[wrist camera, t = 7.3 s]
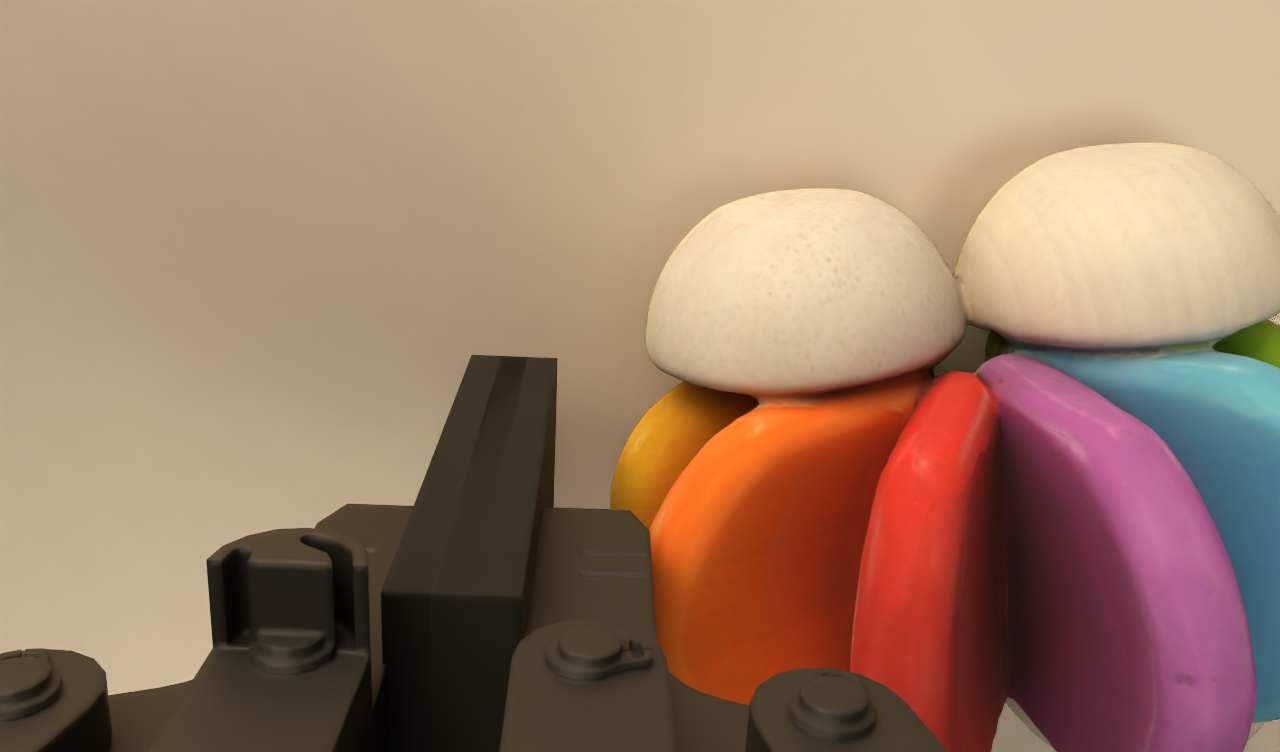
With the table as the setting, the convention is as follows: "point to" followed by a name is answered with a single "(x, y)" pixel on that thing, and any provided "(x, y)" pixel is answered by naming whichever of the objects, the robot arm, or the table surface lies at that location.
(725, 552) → the rainbow disc baby rattle
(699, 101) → the table surface
